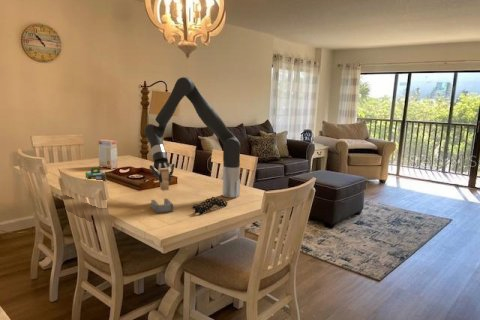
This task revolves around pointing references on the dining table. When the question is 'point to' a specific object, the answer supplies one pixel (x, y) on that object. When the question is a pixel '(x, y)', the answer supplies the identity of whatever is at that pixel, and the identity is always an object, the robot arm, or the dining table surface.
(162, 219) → the dining table surface
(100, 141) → the cracker box
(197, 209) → the decorative element
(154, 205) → the end cap
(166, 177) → the tan wooden block
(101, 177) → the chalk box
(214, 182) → the dining table surface
